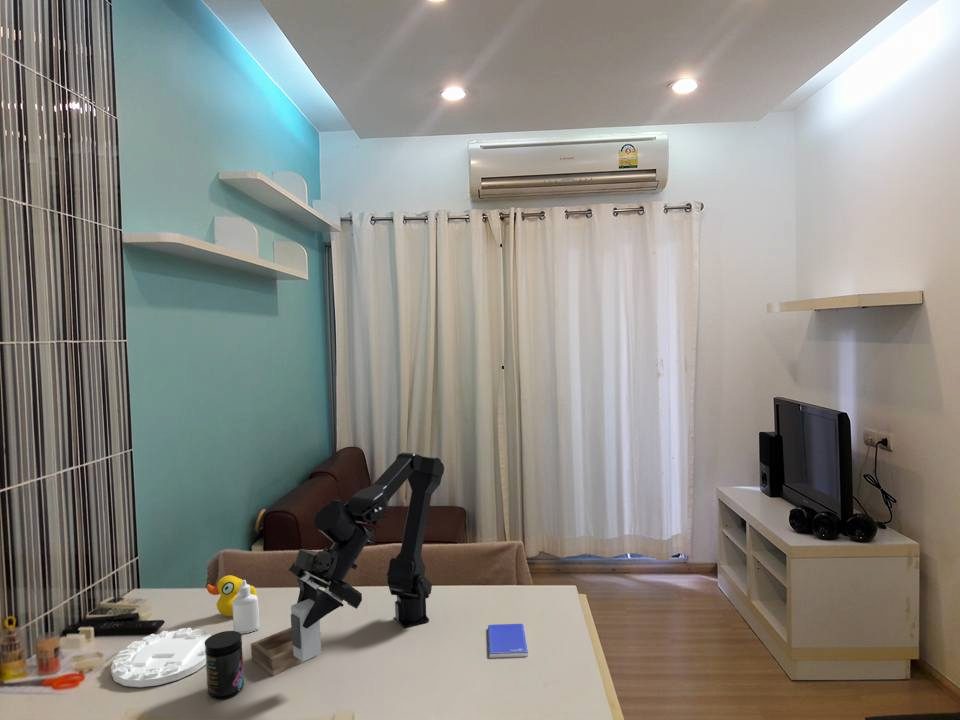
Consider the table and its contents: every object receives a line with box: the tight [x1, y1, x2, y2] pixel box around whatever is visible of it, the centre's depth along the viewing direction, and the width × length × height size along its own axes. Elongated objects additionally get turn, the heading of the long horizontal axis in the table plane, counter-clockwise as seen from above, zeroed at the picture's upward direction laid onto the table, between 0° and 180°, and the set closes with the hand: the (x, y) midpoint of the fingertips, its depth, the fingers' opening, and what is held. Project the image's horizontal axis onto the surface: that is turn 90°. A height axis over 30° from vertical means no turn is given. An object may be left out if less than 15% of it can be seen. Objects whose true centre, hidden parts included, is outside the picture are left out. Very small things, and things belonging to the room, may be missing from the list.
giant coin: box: [110, 627, 212, 688], centre depth 134 cm, size 20×20×3 cm
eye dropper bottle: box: [232, 579, 260, 635], centre depth 147 cm, size 4×6×12 cm
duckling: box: [206, 574, 258, 618], centre depth 155 cm, size 11×5×10 cm, turn 114°
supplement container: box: [205, 630, 245, 700], centre depth 122 cm, size 7×7×10 cm
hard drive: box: [487, 623, 529, 659], centre depth 138 cm, size 2×8×12 cm
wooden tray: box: [250, 627, 317, 677], centre depth 134 cm, size 10×10×4 cm
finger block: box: [290, 599, 322, 663], centre depth 122 cm, size 4×4×10 cm
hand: (299, 624), depth 121 cm, fingers closed on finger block, 3 cm apart
